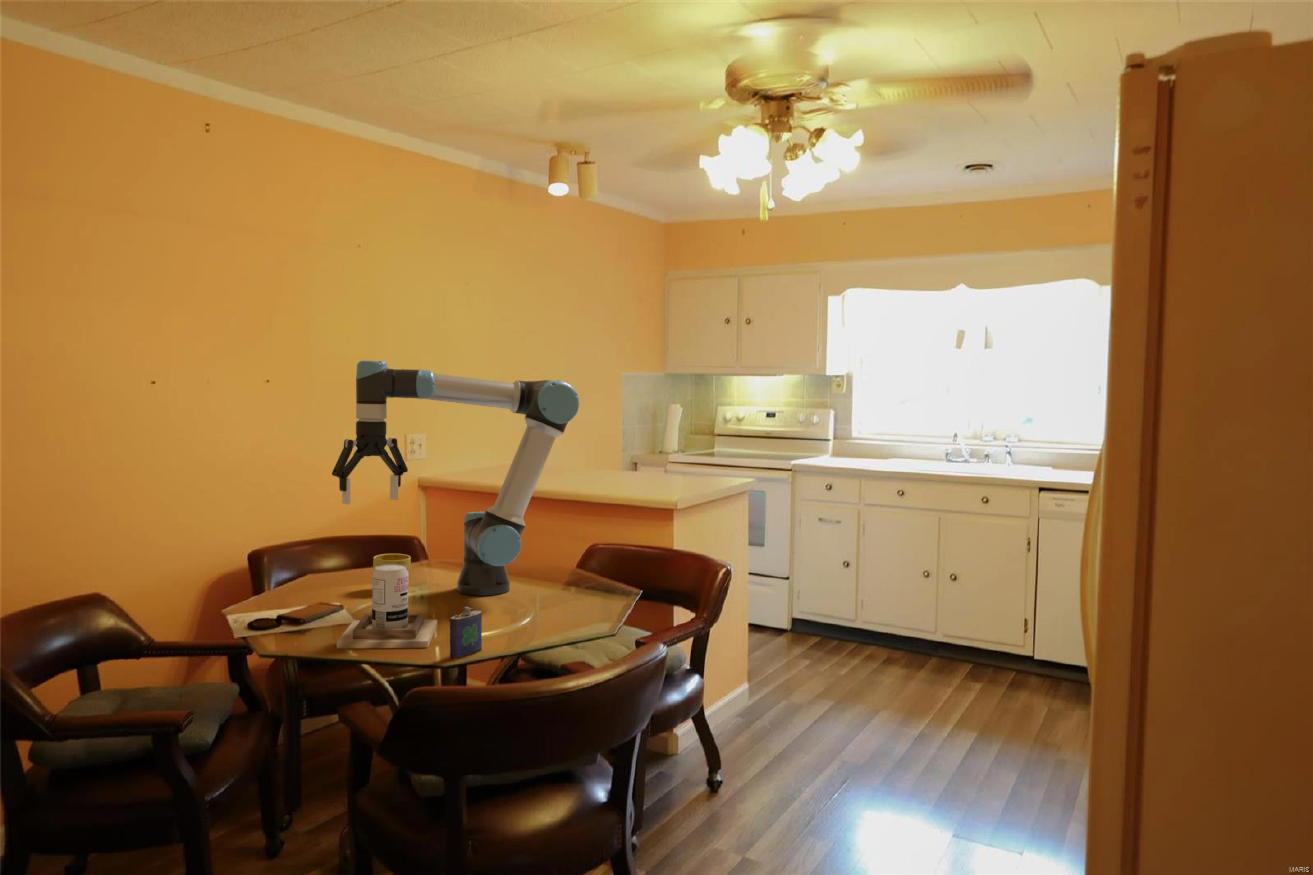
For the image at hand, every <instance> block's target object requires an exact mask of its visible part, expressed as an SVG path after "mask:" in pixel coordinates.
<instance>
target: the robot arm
mask: <svg viewBox="0 0 1313 875" xmlns="http://www.w3.org/2000/svg"><path fill="white" fill-rule="evenodd" d="M355 390H356V391H355V396H356V398H355V399H356V401H355V403H356V404H355V408H356V409H355V418H356V419H357V421H356V422H355V436H356V438H355V440H353V439H348V438H346V439H344V440H343V447H342V450H341V452H340V454H339V456H338V458H337V461H336V464H335V465H334V467H333V469H332V472H331V475H332V476H333V477H337V478H339V480H338V481H339V491H341V496H342V498H341V503H342V504H344V505H351V478H348V477H349V476H350V475H351V473H352V472H353V471H354V469H355V468H356V467H357V466H358V464H359V463H360V462H361V460H363V459H364V458H365V457H372V456H373V457H380V459H381V460H382V462H384V464H385V465H386V466H387V468H388V469H389V470H390V471H391V472H392V474H390V476H389V477H390V479H389V484H390V485H389V499H390V500H393V501H398V500H399V488H400V487H401V484H402V483H401V480H402V476H403V475H404V474H405V473H407V472H408V470H409V469H408V467H407V466H408V465H407V464H406V462H405V460H404V458H403V456H402V453H401V450H400V448H399V446H398V439H397V438H394V437H389V438H386V437H387V422H386V421H385V420H386V419H387V418H388V416H387V412H388V411H387V409H388V408H387V403H388V402H387V399H388V398H391V399H392V398H396V399H397V398H399V399H400V398H401V399H419V400H429V401H438V402H439V401H440V402H445V403H446V402H447V403H456V404H463V405H473V406H481V407H488V408H499V409H505V410H510V412H511V413H512V414H519V415H524V421H525V424H526V427H525V430H524V432H523V435H522V437H521V439H520V442H519V444H518V447H517V450H516V452H515V455H514V457H513V459H512V462H511V464H510V466H509V469H508V471H507V473H506V476H505V477H504V478H505V479H504V481H503V483H502V485H501V487H500V490H499V493H498V495H497V498H496V500H495V502H494V505H492V506H490V507H489V508H486V509H485V511H470V512H466V513H465V514H464V521H463V565H462V567H461V571H460V574H459V576H458V579H457V582H456V590H457V592H458V593H459V594H462V595H468V596H481V597H482V596H495V595H496V596H497V595H501V594H505V593H507V592H509V591H510V590H511V588H510V587H511V581H510V578H509V574H508V572H507V568H506V565H508V564H510V563H512V562H514V560H516V558H517V557H518V556H519V554H520V553H521V549H522V539H521V537H522V535H523V533H524V530H525V528H526V525H527V524H526V523H525V519H524V515H525V513H526V510H527V508H528V506H529V503H530V501H531V498H532V496H533V494H534V491H535V490H536V487H537V484H538V481H539V479H540V477H541V474H542V472H543V469H544V467H545V465H546V462H547V459H548V457H549V454H550V453H551V450H552V447H553V445H554V442H555V440H556V438H558V437H560V436H562V435H564V432H565V430H566V428H567V425H568V423H569V422H570V421H572V420H573V419H574V417H575V416H576V415H577V414H578V412H579V407H580V398H579V395H578V393H577V391H576V389H575V388H574V387H573V386H572V385H571V384H569V383H568V382H565V381H562V380H559V379H552V380H549V379H545V380H543V379H542V380H533V381H532V380H518V379H516V380H515V381H514V382H507V381H505V382H504V381H497V380H491V379H489V380H488V379H484V378H483V379H481V378H475V377H474V378H473V377H467V376H466V377H465V376H458V375H449V374H443V373H442V374H441V373H433V371H432V370H427V369H426V370H425V369H406V368H405V369H404V368H401V369H399V368H398V369H396V368H395V369H393V368H388V364H387V362H386V361H384V360H360V361H358V362H357V364H356V376H355ZM355 447H356V450H355V452H353V455H352V457H351V458H350V456H351V454H352V451H353V449H354V448H355ZM386 447H388V448H389V451H390V454H391V455H392V458H393V459H392V458H391V456H390V455H389V453H388V451H387V450H386ZM348 460H349V461H348Z"/></svg>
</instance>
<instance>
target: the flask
mask: <svg viewBox="0 0 1313 875" xmlns="http://www.w3.org/2000/svg"><path fill="white" fill-rule="evenodd" d="M464 609H465V610H463V612H462V613H459V615H457V614H455V615H452V617H450V619H449V659H450V660H460V659H463V658H466V657H470V656H472V655H474V654H477V653H479V652H481V651H482V648H483V647H482V646H483V645H482V644H483V642H482V641H483V638H482V631H483V628H482V627H483V626H482V625H483V622H482V621H483V612H482V610H472V608H471V607H469V606H464ZM471 610H472V611H471Z"/></svg>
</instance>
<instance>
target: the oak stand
mask: <svg viewBox="0 0 1313 875" xmlns="http://www.w3.org/2000/svg"><path fill="white" fill-rule="evenodd" d="M437 627H438V619H424V613H408V627H407V628H406V629H372V613H370V614H369V613H368V614H364V615H363V616H362V618H361V619H357V620H356V619H354V620H352V622H351V623H350V625H349V626H348V627H347V628H346V630H345V631H344V632H343V633H342V635H341V636H340V638H338V640H337V641H336V649H338V650H339V649H407V648H409V649H412V648H414V649H415V648H416V649H417V648H418V649H419V648H421V649H422V648H427V649H428V648H429V646H430V643H431V641H432V639H433V637H434V634H435V632H436V629H437Z"/></svg>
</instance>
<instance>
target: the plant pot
mask: <svg viewBox="0 0 1313 875" xmlns="http://www.w3.org/2000/svg"><path fill="white" fill-rule="evenodd" d="M372 559H373V560H372V561H373V562H372V565H373V566H372V568H373V570H374V571H375V567H377V566H381V565H390V564H397V565H404V566H406V569H407V571H408V572H409V569H410V568H411V564H412V563H411V561H412V560H411V559H412V557H411V556H410V555H408V554H402V553H383V554H377V555H375V556H373V558H372Z"/></svg>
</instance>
